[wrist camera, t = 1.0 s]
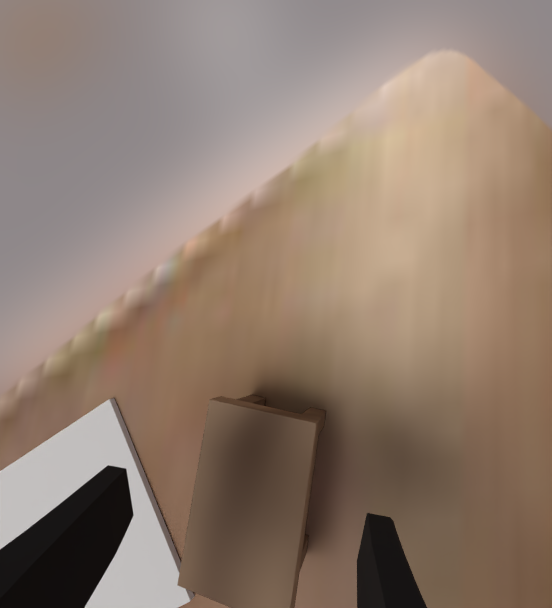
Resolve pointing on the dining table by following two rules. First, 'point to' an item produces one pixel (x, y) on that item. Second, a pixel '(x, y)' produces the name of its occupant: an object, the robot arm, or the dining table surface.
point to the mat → (75, 473)
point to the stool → (250, 503)
